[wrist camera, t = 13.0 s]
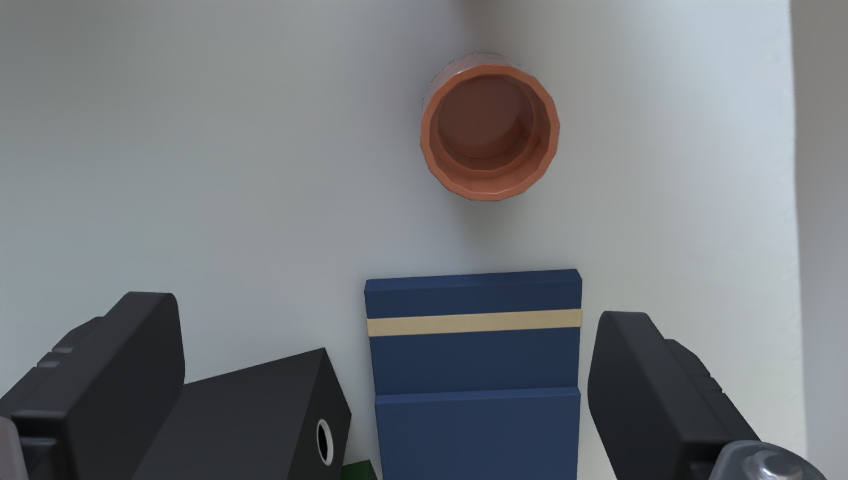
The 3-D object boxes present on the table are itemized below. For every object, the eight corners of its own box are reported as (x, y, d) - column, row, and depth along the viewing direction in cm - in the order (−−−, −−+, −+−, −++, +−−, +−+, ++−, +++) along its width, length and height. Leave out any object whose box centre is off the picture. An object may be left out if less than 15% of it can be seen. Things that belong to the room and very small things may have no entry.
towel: (386, 468, 40) (383, 494, 38) (365, 278, 35) (361, 297, 33) (569, 460, 40) (577, 486, 38) (577, 268, 34) (587, 286, 32)
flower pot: (419, 167, 32) (418, 198, 27) (424, 49, 30) (424, 61, 25) (532, 172, 32) (550, 204, 27) (546, 55, 30) (567, 68, 25)
